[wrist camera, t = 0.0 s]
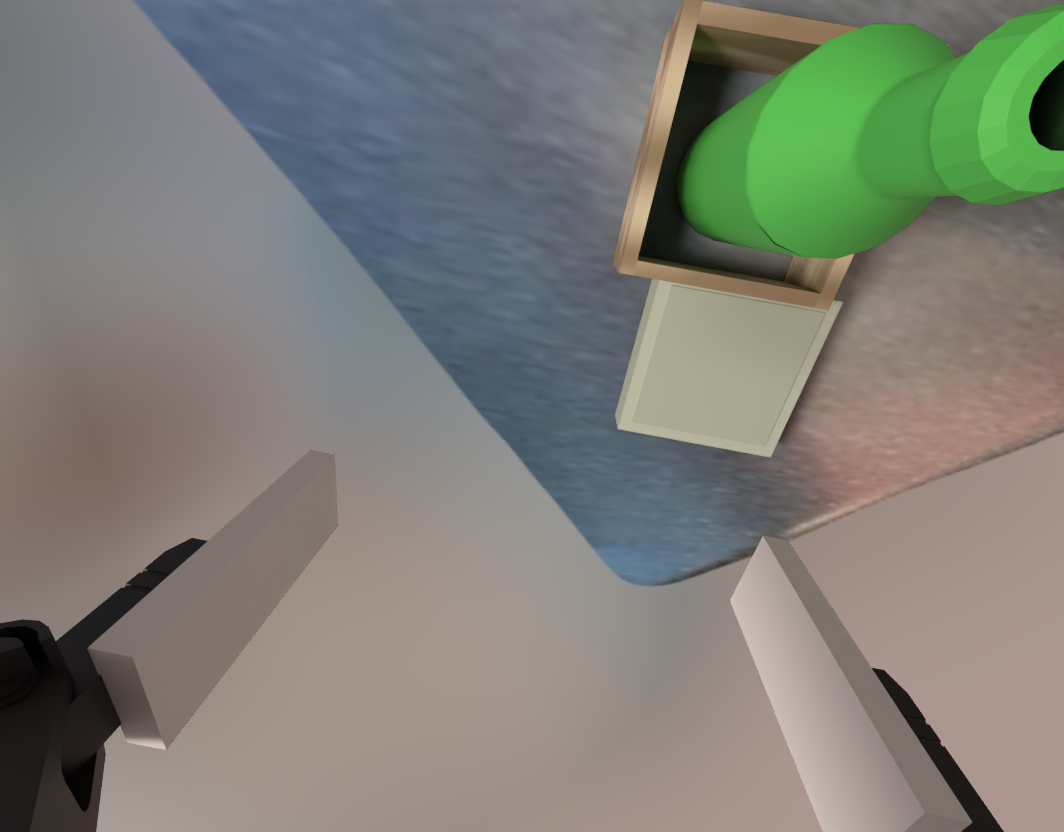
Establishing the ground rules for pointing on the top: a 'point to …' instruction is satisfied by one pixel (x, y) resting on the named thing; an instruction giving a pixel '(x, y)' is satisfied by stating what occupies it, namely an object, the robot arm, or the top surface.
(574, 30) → the top surface
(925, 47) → the bottle
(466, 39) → the top surface
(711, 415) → the stand block
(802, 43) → the open square wooden frame
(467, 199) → the top surface
